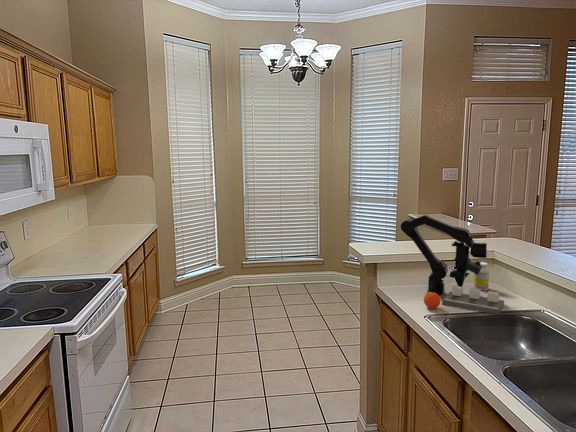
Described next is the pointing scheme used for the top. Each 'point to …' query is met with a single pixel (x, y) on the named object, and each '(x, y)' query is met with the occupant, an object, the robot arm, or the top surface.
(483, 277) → the supplement bottle
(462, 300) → the switch bank
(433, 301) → the red tomato
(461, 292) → the tab left
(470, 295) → the tab middle
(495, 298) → the tab right
